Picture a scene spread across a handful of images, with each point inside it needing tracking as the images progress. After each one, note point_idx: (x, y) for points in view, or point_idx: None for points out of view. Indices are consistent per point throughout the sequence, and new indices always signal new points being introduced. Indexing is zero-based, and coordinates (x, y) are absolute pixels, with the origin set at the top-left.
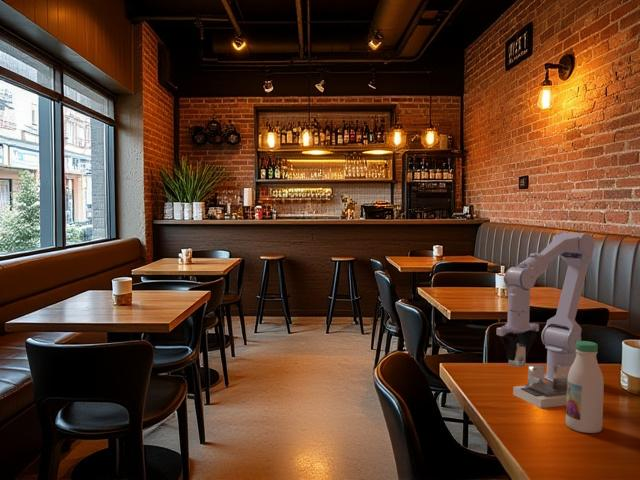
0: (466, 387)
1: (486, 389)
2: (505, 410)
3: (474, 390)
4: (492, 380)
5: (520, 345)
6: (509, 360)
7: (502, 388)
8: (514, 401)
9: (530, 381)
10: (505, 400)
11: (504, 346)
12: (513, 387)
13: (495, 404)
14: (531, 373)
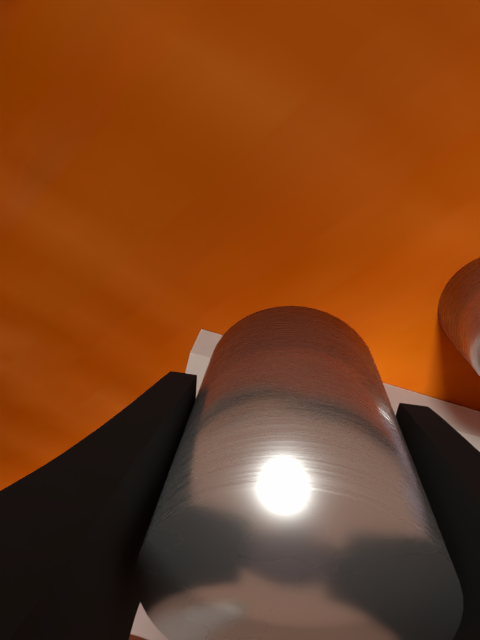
0: (24, 45)
1: (129, 169)
2: (4, 425)
3: (39, 137)
4: (351, 18)
5: (315, 638)
6: (208, 369)
7: (242, 217)
8: (124, 388)
9: (454, 309)
10: (93, 357)
11: (44, 476)
12: (191, 350)
13: (8, 362)
14: (478, 345)
